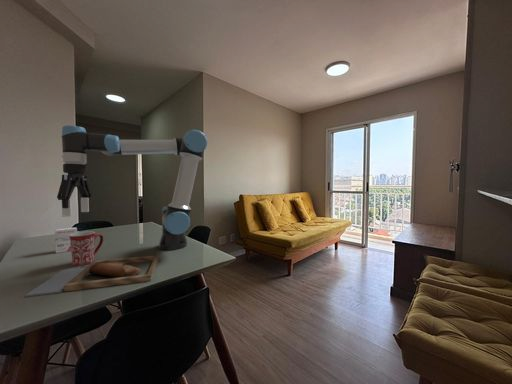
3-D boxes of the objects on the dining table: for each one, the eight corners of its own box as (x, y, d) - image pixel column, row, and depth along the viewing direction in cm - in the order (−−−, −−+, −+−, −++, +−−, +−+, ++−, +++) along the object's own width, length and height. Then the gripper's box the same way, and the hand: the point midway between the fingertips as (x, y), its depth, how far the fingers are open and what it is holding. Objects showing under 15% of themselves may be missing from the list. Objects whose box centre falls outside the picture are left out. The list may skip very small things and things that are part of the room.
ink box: (77, 247, 114) (76, 226, 114) (77, 249, 111) (77, 228, 110) (55, 251, 108) (55, 229, 108) (55, 253, 105) (54, 230, 104)
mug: (75, 268, 86) (74, 236, 86) (65, 264, 91) (65, 234, 90) (108, 258, 98) (107, 231, 97) (98, 255, 102) (98, 229, 101)
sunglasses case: (143, 268, 83) (134, 259, 79) (131, 285, 78) (122, 276, 74) (109, 263, 88) (99, 254, 84) (96, 279, 83) (85, 270, 78)
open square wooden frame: (159, 259, 98) (159, 255, 98) (150, 280, 76) (150, 275, 76) (94, 265, 90) (94, 261, 90) (63, 291, 68) (63, 285, 68)
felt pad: (89, 268, 86) (89, 267, 86) (61, 292, 67) (61, 290, 67) (62, 271, 83) (62, 269, 83) (25, 296, 64) (25, 295, 64)
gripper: (80, 166, 96) (81, 210, 97) (42, 160, 73) (44, 219, 73) (99, 166, 99) (100, 210, 99) (68, 160, 75) (70, 218, 76)
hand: (76, 214), depth 86 cm, fingers open, 13 cm apart
